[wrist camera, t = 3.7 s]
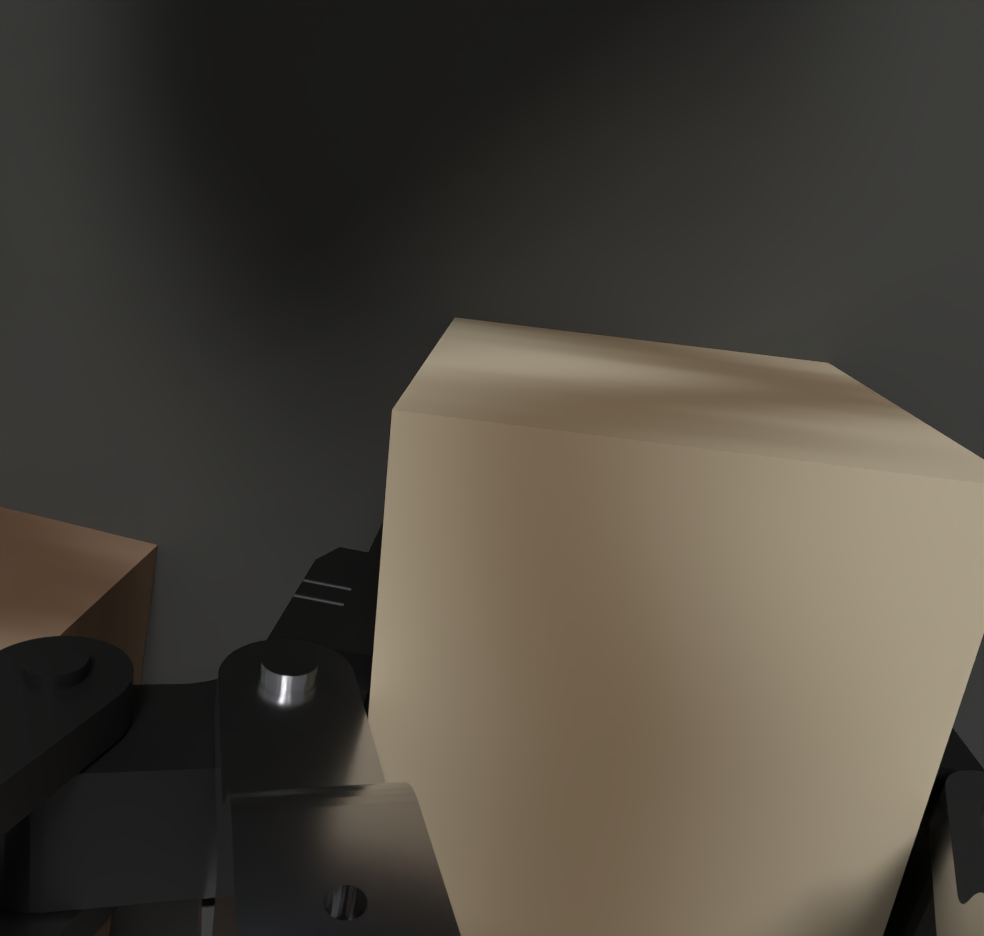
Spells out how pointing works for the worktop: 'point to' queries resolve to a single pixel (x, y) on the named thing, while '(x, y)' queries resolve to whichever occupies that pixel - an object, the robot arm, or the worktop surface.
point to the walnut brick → (74, 587)
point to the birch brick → (668, 633)
